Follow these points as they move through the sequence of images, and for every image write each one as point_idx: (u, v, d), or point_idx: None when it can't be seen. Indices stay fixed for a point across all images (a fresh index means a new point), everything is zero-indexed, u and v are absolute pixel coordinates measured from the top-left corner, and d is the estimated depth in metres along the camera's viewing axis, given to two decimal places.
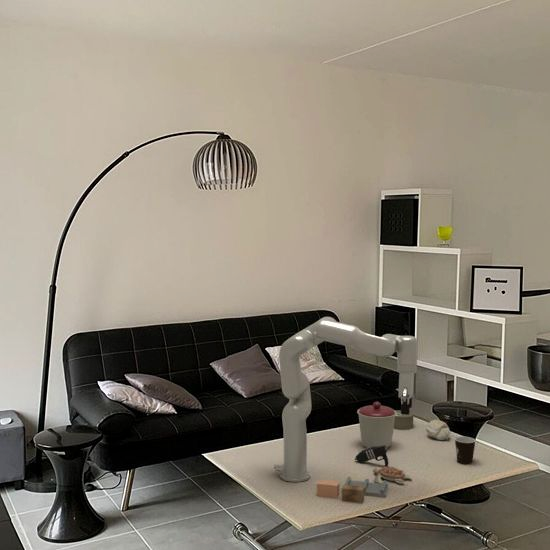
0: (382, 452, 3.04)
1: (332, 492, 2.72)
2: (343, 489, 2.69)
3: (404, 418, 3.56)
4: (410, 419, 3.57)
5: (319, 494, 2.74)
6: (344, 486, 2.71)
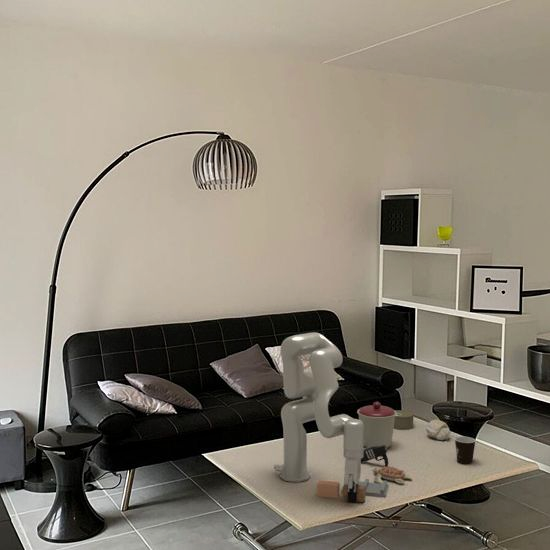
0: (382, 452, 3.04)
1: (332, 492, 2.72)
2: (343, 489, 2.69)
3: (404, 418, 3.56)
4: (410, 419, 3.57)
5: (319, 494, 2.74)
6: (344, 486, 2.71)
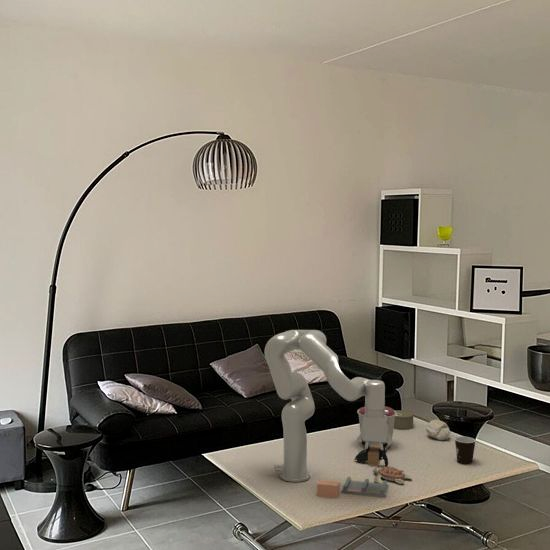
0: None
1: (332, 492, 2.72)
2: (370, 446, 2.81)
3: (404, 418, 3.56)
4: (410, 419, 3.57)
5: (319, 494, 2.74)
6: (376, 446, 2.80)
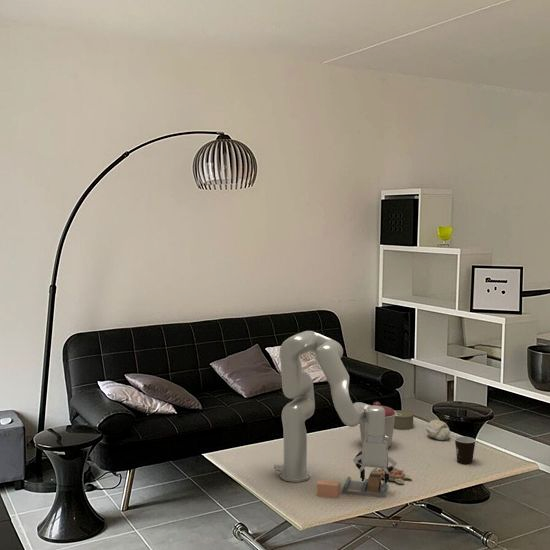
0: None
1: (332, 492, 2.72)
2: (371, 472, 2.83)
3: (404, 418, 3.56)
4: (410, 419, 3.57)
5: (319, 494, 2.74)
6: (376, 472, 2.82)
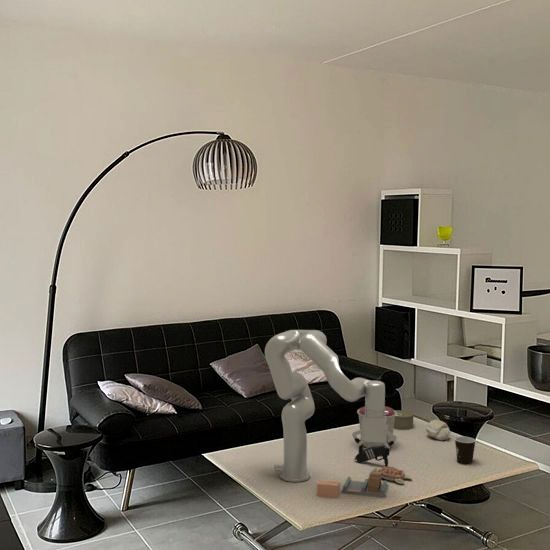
0: (382, 451, 3.04)
1: (332, 492, 2.72)
2: (371, 472, 2.83)
3: (404, 418, 3.56)
4: (410, 419, 3.57)
5: (319, 494, 2.74)
6: (376, 472, 2.82)
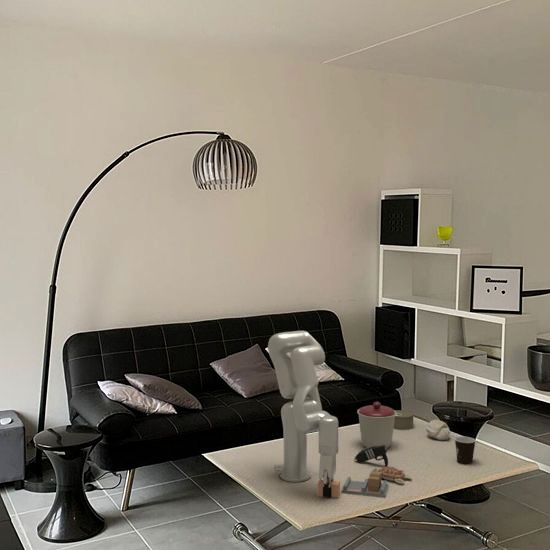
0: (382, 451, 3.04)
1: (333, 491, 2.72)
2: (371, 472, 2.83)
3: (404, 418, 3.56)
4: (410, 419, 3.57)
5: (320, 494, 2.74)
6: (376, 472, 2.82)
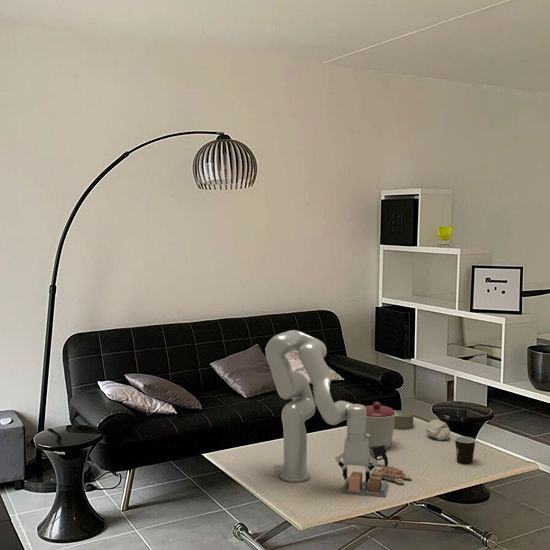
0: (382, 451, 3.04)
1: None
2: None
3: (404, 418, 3.56)
4: (410, 419, 3.57)
5: None
6: (377, 472, 2.82)
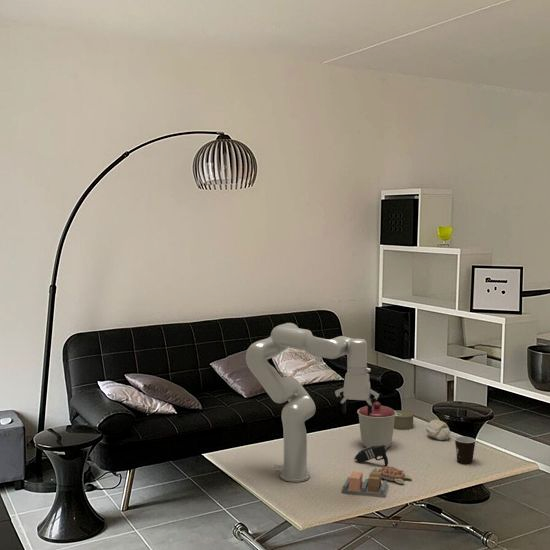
0: (382, 451, 3.04)
1: None
2: (371, 472, 2.83)
3: (404, 418, 3.56)
4: (410, 419, 3.57)
5: None
6: (376, 472, 2.82)
